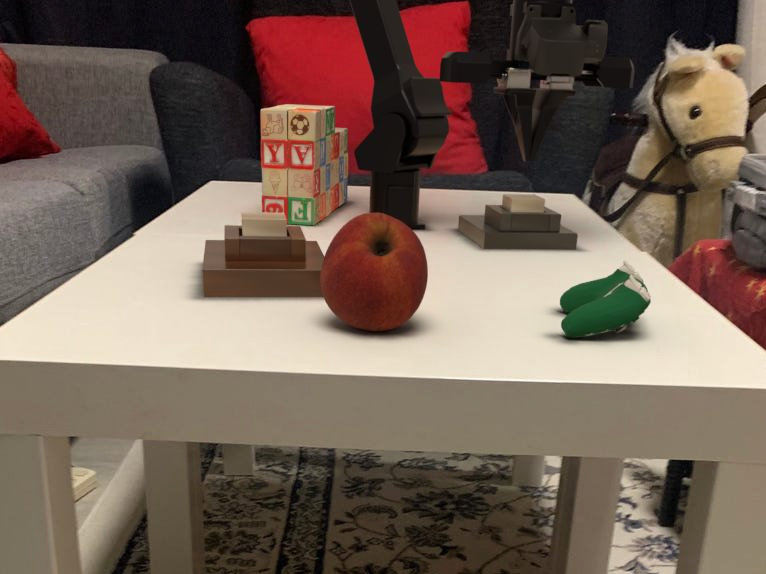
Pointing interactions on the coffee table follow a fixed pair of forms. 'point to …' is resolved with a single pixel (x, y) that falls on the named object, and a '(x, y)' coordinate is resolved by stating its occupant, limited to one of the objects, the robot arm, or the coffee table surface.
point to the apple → (374, 273)
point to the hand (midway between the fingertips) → (528, 161)
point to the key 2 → (523, 203)
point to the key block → (262, 265)
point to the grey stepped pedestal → (517, 230)
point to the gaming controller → (604, 303)
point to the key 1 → (263, 224)
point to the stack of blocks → (303, 162)
